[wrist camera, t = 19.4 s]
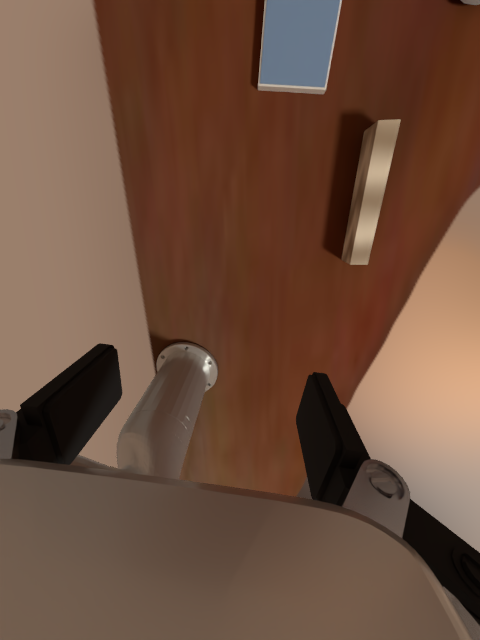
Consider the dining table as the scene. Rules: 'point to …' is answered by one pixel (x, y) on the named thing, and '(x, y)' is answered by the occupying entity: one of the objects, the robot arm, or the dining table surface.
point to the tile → (297, 45)
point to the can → (471, 2)
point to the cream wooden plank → (369, 190)
